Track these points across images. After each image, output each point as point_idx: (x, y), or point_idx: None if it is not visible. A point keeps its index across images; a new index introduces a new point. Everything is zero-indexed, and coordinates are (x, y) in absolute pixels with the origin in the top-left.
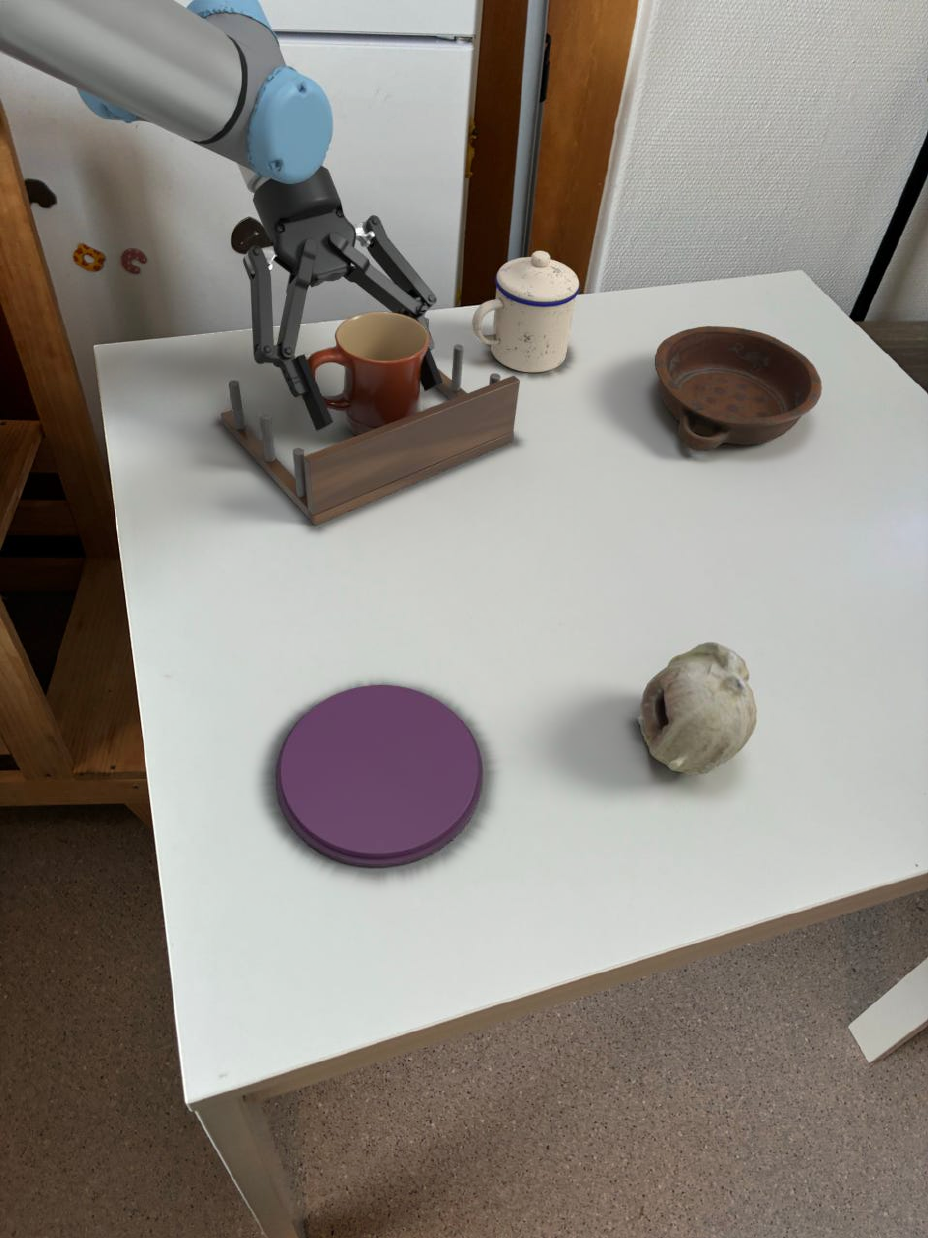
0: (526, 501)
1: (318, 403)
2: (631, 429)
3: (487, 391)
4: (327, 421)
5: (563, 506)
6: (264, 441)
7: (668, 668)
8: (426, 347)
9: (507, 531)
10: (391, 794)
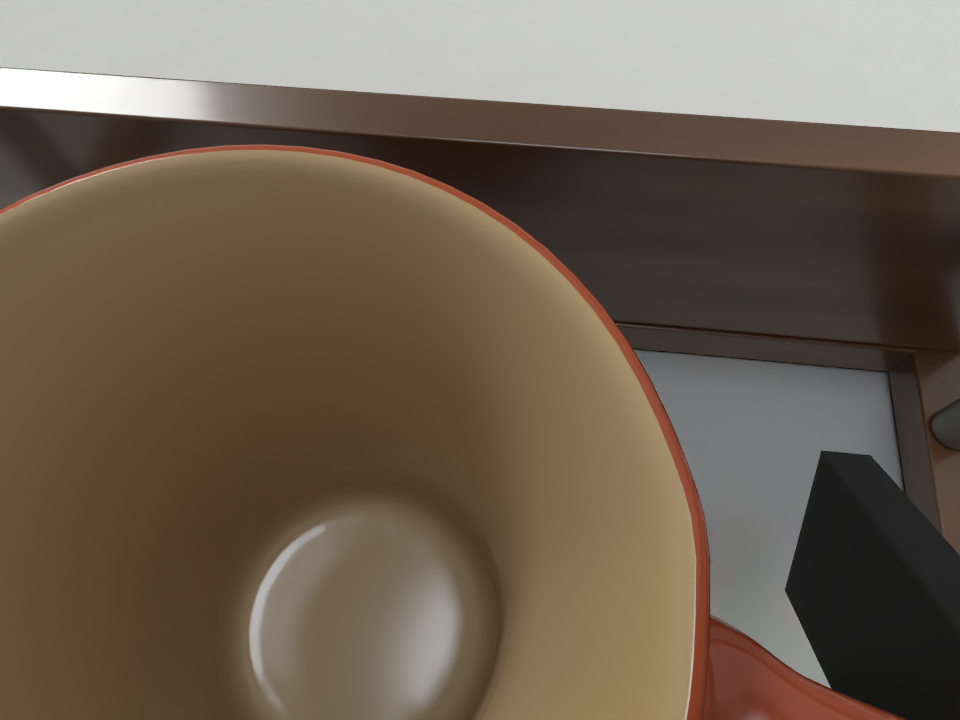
0: (302, 69)
1: (927, 525)
2: None
3: (59, 79)
4: (860, 461)
5: (245, 11)
6: None
7: None
8: (60, 185)
9: (437, 27)
10: None
